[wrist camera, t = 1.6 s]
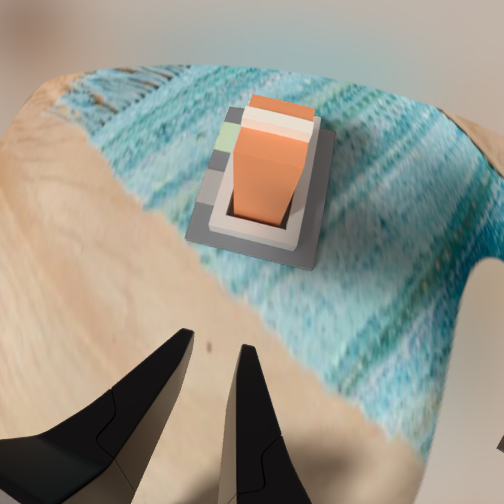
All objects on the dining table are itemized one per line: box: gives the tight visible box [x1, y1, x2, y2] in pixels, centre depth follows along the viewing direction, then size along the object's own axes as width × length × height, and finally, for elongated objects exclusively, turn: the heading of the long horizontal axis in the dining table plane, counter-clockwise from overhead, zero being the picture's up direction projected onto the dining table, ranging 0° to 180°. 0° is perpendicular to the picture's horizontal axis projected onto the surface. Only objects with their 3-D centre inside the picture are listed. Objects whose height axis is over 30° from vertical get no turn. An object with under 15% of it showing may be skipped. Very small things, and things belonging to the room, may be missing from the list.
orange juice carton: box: [233, 94, 315, 227], centre depth 19 cm, size 4×4×10 cm
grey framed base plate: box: [185, 100, 336, 271], centre depth 25 cm, size 13×10×2 cm
